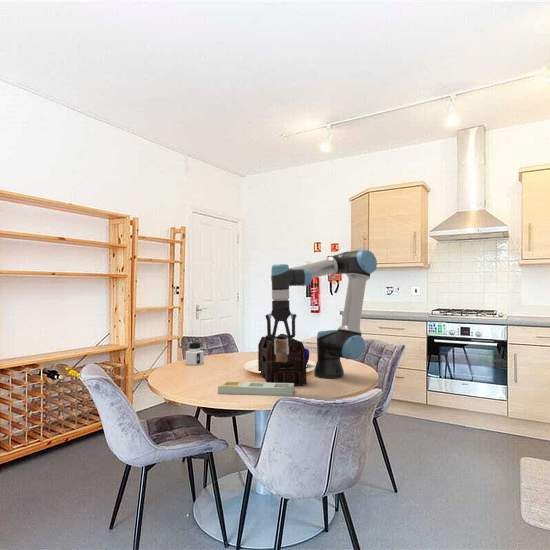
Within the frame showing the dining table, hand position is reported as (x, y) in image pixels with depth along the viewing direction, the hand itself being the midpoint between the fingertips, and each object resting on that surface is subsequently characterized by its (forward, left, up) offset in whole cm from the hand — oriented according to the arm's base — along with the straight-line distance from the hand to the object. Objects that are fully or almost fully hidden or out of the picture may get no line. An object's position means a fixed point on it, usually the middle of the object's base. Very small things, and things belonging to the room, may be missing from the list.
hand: (281, 353), depth 171 cm
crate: (+4, -26, -17) cm, 31 cm away
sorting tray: (+11, 0, -17) cm, 20 cm away
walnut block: (0, 0, -3) cm, 3 cm away
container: (+60, -58, -17) cm, 86 cm away
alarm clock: (-2, -57, -17) cm, 60 cm away
